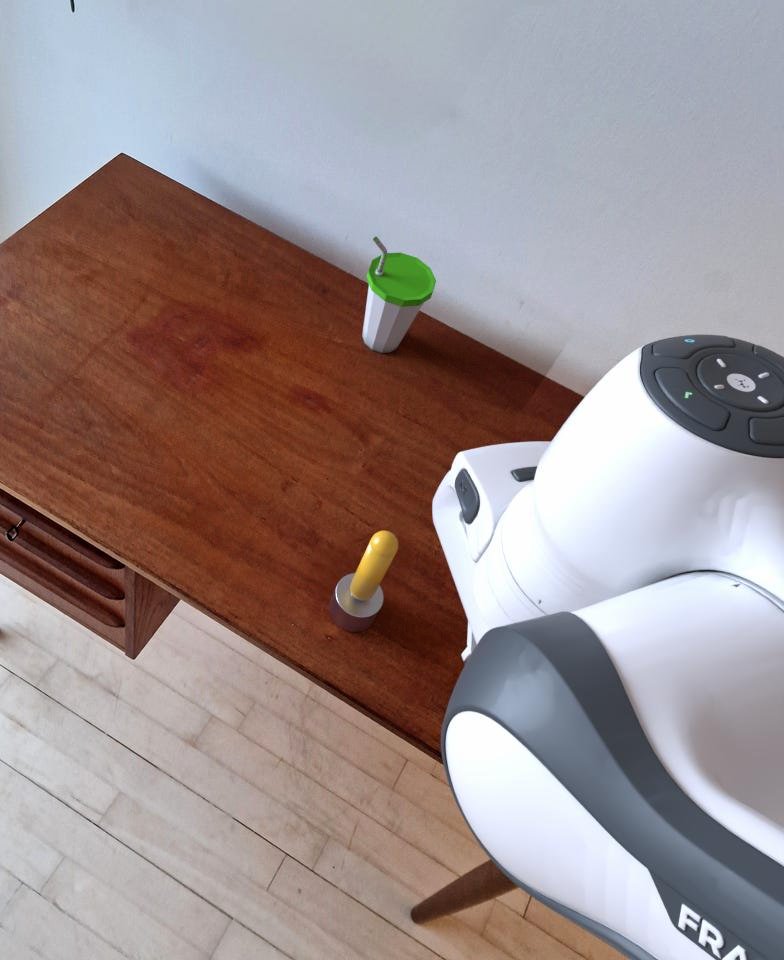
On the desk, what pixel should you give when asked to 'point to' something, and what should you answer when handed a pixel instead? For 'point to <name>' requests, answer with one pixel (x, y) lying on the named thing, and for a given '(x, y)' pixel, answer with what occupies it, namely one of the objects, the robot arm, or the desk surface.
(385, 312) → the cup
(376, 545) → the yellow lever knob
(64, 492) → the desk surface
